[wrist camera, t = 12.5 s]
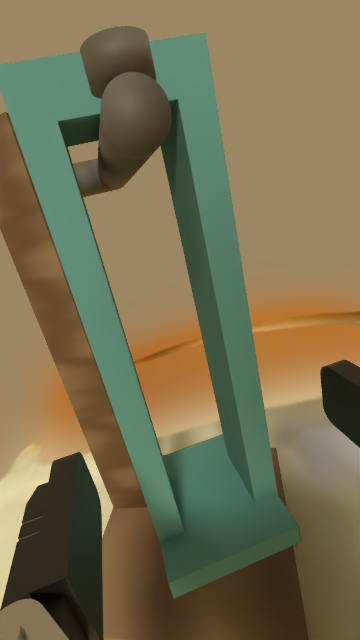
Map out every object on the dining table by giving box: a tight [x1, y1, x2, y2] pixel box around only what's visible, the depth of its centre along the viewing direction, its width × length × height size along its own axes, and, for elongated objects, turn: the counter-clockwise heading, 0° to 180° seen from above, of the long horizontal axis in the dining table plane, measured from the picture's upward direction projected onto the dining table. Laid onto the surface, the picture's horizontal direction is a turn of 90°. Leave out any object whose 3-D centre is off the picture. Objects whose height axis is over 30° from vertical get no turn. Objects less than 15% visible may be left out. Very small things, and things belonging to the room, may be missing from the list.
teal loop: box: [0, 33, 301, 598], centre depth 14 cm, size 6×7×20 cm
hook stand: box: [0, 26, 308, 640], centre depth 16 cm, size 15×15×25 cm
